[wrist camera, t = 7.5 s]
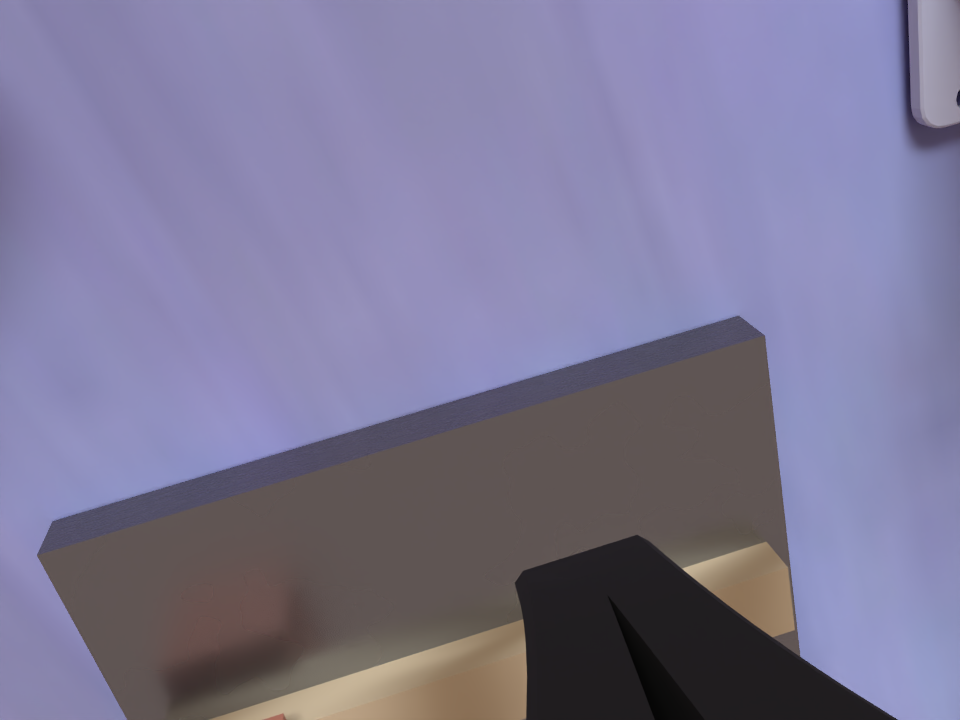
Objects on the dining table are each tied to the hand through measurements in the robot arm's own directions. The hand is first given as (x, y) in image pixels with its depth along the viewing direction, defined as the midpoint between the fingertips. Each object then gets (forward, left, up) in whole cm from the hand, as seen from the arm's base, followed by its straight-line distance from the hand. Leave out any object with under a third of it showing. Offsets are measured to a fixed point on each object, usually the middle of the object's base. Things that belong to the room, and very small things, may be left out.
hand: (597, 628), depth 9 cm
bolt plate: (+2, +9, -10) cm, 13 cm away
